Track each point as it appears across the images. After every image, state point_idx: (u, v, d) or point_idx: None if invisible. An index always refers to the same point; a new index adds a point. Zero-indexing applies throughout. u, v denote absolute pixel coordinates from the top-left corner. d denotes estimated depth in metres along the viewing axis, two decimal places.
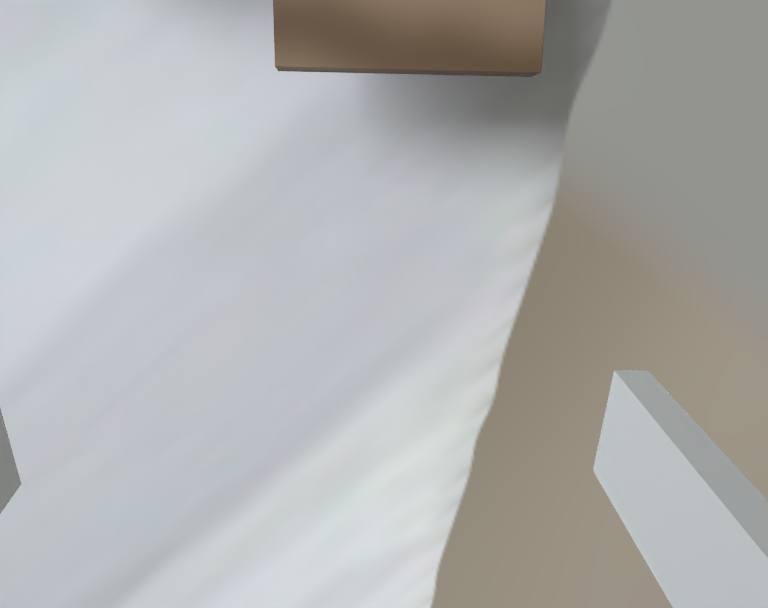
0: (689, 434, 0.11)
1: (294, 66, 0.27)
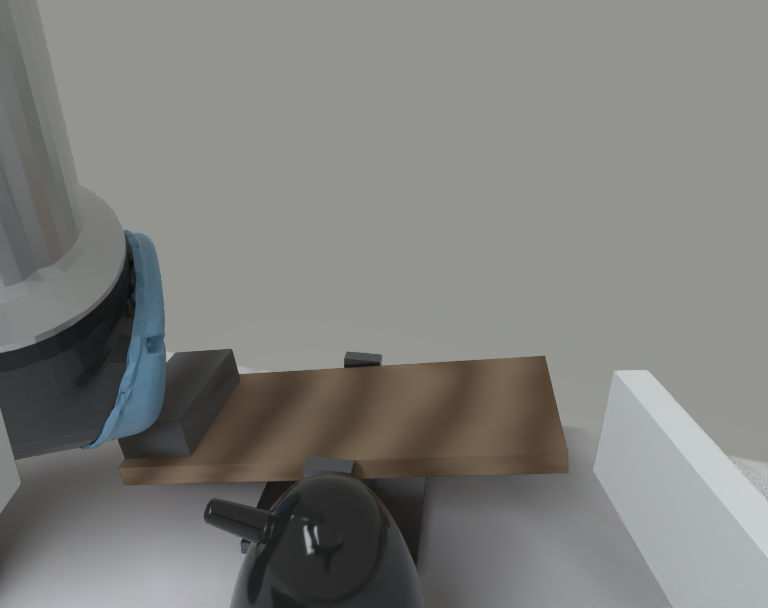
0: (689, 434, 0.11)
1: (565, 445, 0.37)
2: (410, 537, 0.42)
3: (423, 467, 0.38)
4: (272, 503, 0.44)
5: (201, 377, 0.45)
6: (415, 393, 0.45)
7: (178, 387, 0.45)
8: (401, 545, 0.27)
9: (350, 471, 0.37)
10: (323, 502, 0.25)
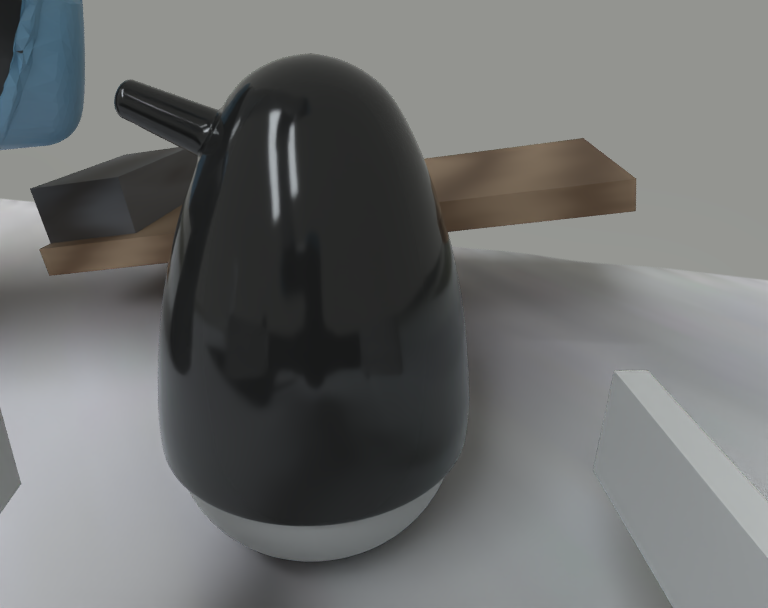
0: (689, 434, 0.11)
1: None
2: None
3: None
4: None
5: (153, 158, 0.36)
6: None
7: (122, 165, 0.35)
8: (427, 168, 0.17)
9: None
10: (304, 58, 0.15)
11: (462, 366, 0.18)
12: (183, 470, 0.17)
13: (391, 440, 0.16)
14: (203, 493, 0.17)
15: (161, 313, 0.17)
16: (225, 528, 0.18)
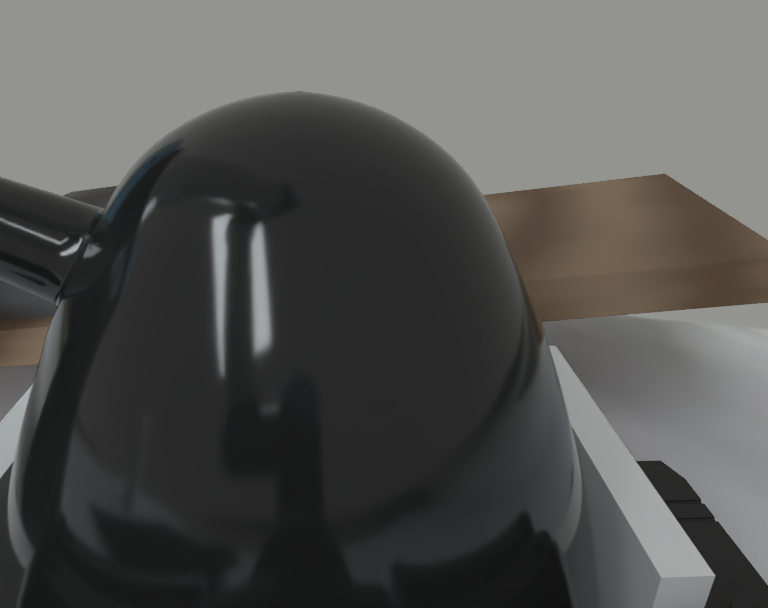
0: (577, 400, 0.12)
1: None
2: None
3: None
4: None
5: (100, 203, 0.27)
6: None
7: None
8: None
9: None
10: (283, 106, 0.07)
11: None
12: None
13: None
14: None
15: None
16: None
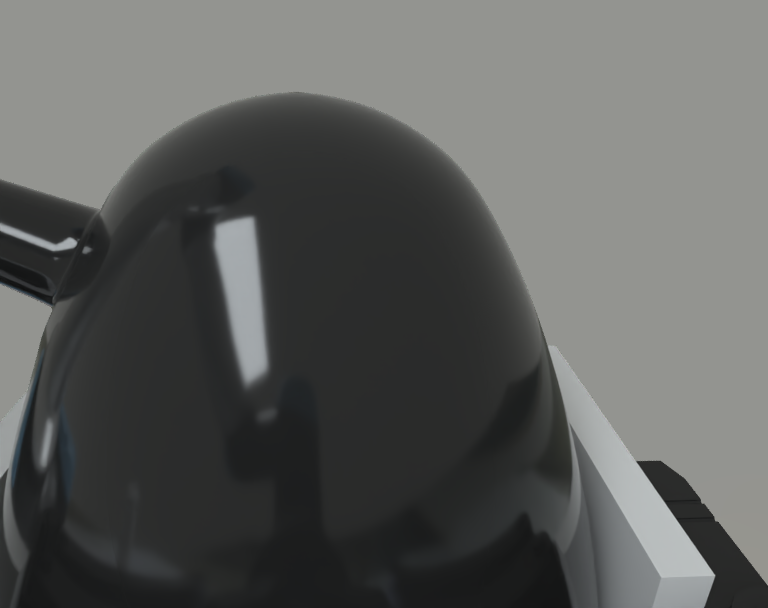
0: (577, 400, 0.12)
1: None
2: None
3: None
4: None
5: None
6: None
7: None
8: None
9: None
10: (281, 107, 0.07)
11: None
12: None
13: None
14: None
15: None
16: None
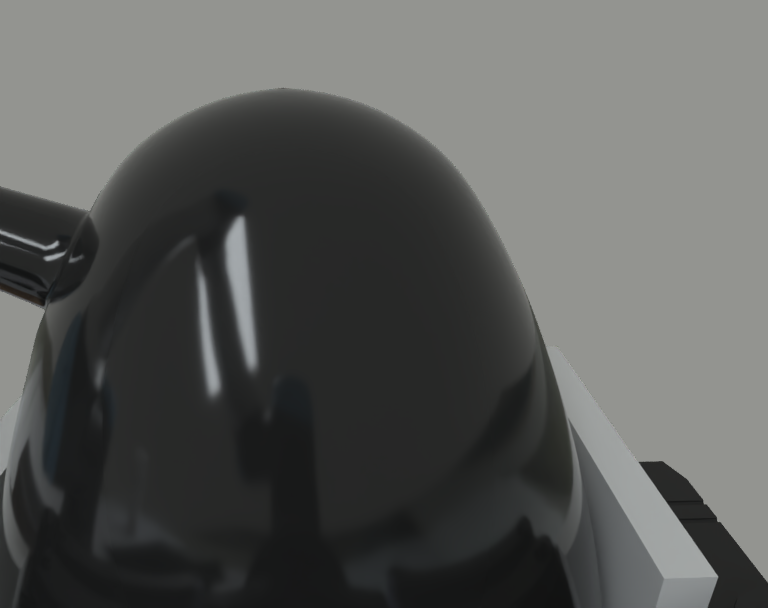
0: (579, 401, 0.12)
1: None
2: None
3: None
4: None
5: None
6: None
7: None
8: None
9: None
10: (266, 102, 0.07)
11: None
12: None
13: None
14: None
15: None
16: None
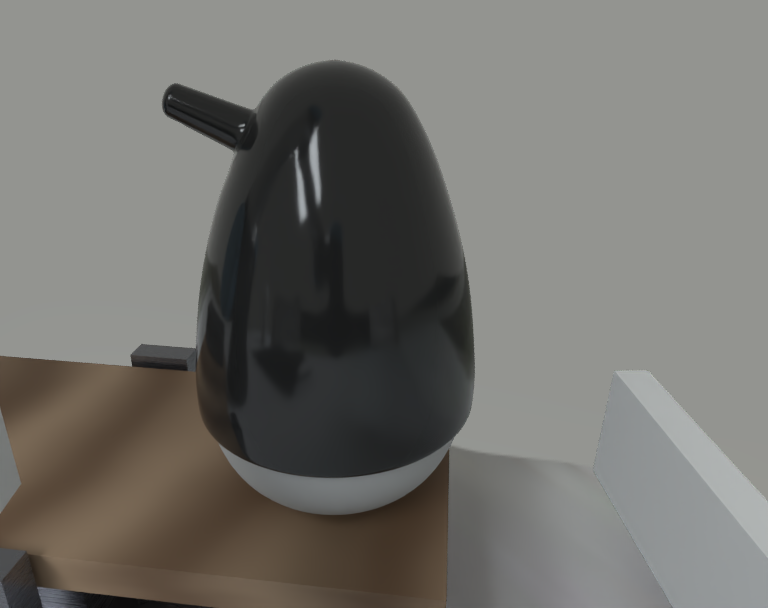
0: (689, 434, 0.11)
1: (445, 580, 0.19)
2: None
3: (173, 586, 0.20)
4: None
5: None
6: None
7: None
8: (437, 162, 0.19)
9: (3, 577, 0.18)
10: (330, 64, 0.18)
11: (468, 339, 0.20)
12: (220, 430, 0.19)
13: (406, 401, 0.18)
14: (239, 449, 0.19)
15: (200, 291, 0.20)
16: (257, 483, 0.20)
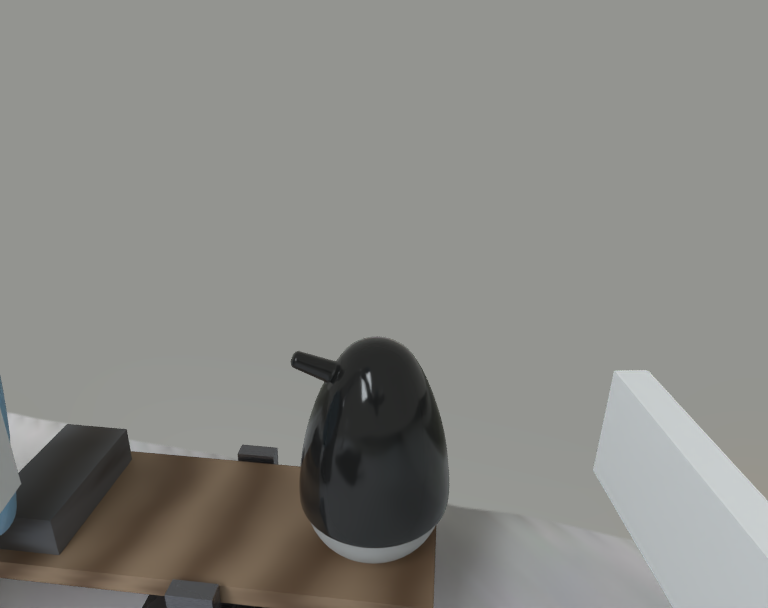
0: (689, 434, 0.11)
1: (433, 598, 0.38)
2: None
3: (292, 602, 0.38)
4: None
5: (86, 464, 0.44)
6: None
7: (59, 474, 0.43)
8: (428, 384, 0.38)
9: (212, 598, 0.37)
10: (375, 348, 0.36)
11: (445, 472, 0.39)
12: (318, 522, 0.38)
13: (413, 510, 0.37)
14: (328, 533, 0.37)
15: (306, 450, 0.38)
16: (335, 548, 0.38)
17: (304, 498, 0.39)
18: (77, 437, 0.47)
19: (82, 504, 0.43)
